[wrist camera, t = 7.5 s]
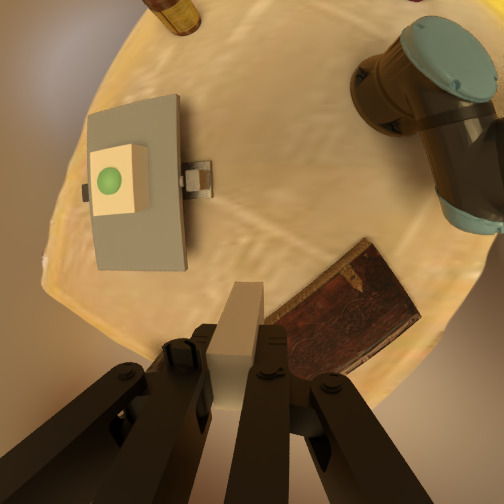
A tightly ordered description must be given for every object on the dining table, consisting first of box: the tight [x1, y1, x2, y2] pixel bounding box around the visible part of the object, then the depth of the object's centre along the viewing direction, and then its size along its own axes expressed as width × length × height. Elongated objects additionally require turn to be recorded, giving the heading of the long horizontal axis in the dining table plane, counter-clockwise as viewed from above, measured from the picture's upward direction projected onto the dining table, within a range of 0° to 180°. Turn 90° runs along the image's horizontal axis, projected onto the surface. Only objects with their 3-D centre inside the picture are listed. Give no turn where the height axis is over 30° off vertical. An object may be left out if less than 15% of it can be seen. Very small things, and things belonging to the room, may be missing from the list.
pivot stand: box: [82, 161, 213, 202], centre depth 44 cm, size 16×22×7 cm
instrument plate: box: [87, 94, 188, 272], centre depth 36 cm, size 26×16×8 cm, turn 2°
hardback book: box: [264, 238, 422, 381], centre depth 48 cm, size 29×19×5 cm, turn 133°
